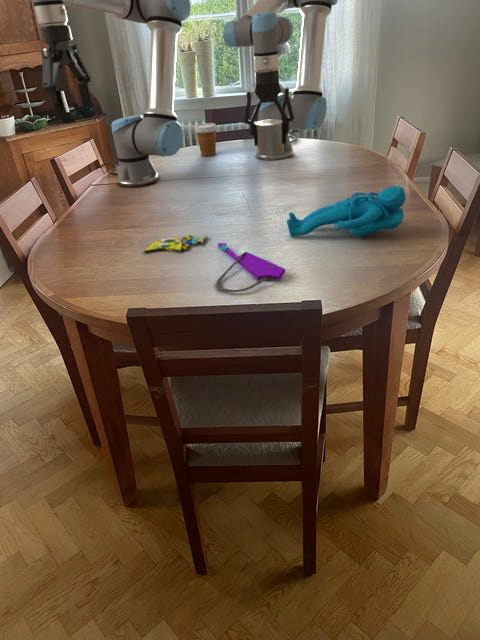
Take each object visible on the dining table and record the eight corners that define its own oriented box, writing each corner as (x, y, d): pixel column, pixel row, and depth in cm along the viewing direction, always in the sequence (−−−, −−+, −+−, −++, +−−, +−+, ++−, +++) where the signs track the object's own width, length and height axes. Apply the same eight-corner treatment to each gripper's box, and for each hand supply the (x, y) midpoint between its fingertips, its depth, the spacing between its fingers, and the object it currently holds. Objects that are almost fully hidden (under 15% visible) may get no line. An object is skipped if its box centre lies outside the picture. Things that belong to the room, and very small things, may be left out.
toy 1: (199, 248, 125) (143, 249, 127) (199, 251, 125) (144, 252, 127) (206, 233, 133) (154, 234, 135) (206, 236, 133) (154, 237, 136)
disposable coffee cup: (194, 156, 208) (190, 127, 202) (203, 151, 216) (200, 122, 209) (213, 157, 205) (210, 127, 199) (222, 151, 212) (220, 122, 206)
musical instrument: (259, 304, 102) (301, 255, 114) (257, 296, 101) (299, 248, 113) (174, 288, 115) (219, 245, 127) (171, 280, 114) (217, 238, 126)
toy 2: (290, 200, 134) (401, 173, 124) (299, 235, 139) (407, 211, 129) (281, 224, 121) (406, 195, 110) (292, 261, 126) (412, 237, 116)
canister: (289, 150, 165) (288, 120, 160) (274, 157, 160) (272, 126, 154) (267, 147, 170) (265, 118, 165) (252, 154, 165) (250, 124, 159)
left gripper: (37, 26, 114) (62, 120, 126) (91, 21, 134) (108, 103, 146) (11, 28, 117) (38, 121, 128) (68, 23, 136) (87, 104, 148)
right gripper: (231, 74, 149) (237, 148, 162) (301, 68, 147) (302, 144, 159) (233, 71, 155) (239, 143, 168) (301, 65, 153) (302, 138, 165)
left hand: (75, 112), depth 137 cm, fingers open, 13 cm apart
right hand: (270, 143), depth 163 cm, fingers closed on canister, 9 cm apart
